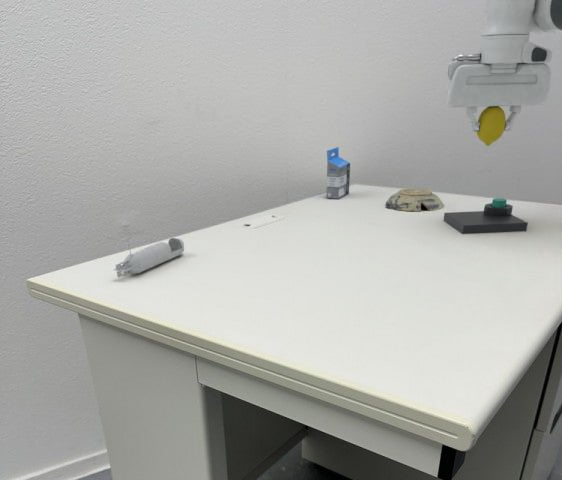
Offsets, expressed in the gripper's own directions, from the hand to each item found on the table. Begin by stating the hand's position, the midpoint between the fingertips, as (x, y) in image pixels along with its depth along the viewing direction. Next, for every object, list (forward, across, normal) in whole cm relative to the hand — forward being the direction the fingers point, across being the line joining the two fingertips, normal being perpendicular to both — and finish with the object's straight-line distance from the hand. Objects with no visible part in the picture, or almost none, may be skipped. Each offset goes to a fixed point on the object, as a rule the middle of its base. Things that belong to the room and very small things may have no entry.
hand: (490, 130), depth 113 cm
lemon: (+3, 0, 0) cm, 3 cm away
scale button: (+16, +6, +3) cm, 17 cm away
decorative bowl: (+20, -8, +22) cm, 30 cm away
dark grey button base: (+19, +1, -1) cm, 19 cm away
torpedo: (+20, -70, -20) cm, 75 cm away
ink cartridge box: (+20, -25, +38) cm, 49 cm away
